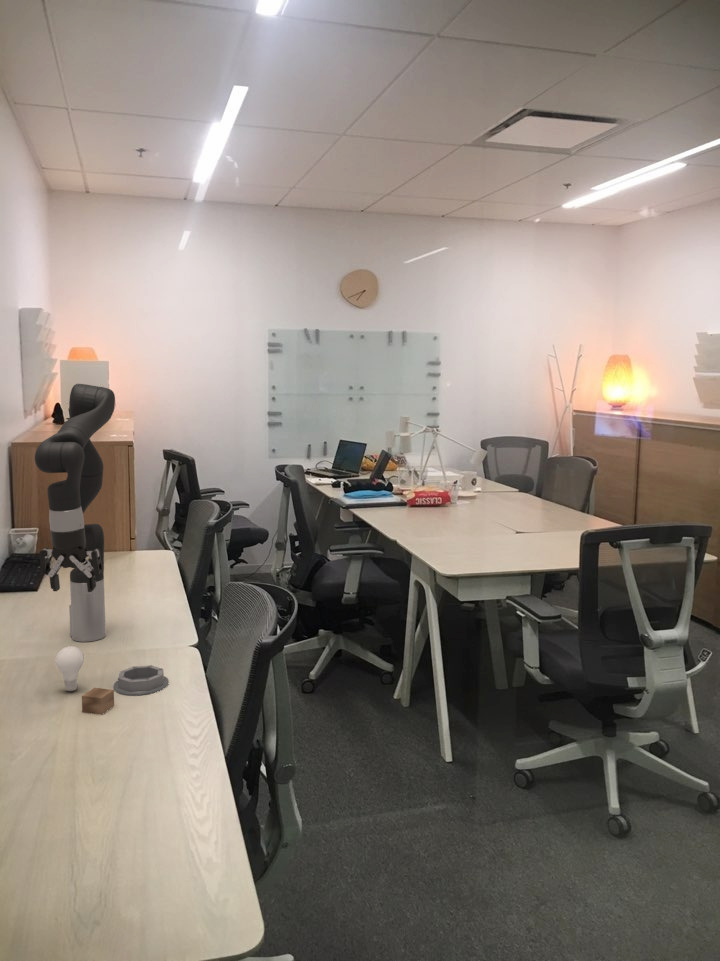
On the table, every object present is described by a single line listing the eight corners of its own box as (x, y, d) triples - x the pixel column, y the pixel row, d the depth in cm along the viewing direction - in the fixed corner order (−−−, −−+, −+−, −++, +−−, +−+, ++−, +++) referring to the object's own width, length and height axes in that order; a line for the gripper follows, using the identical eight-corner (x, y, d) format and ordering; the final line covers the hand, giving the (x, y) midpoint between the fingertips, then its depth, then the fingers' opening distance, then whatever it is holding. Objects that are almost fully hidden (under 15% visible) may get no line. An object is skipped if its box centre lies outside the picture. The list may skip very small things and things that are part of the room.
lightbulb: (90, 687, 187) (89, 644, 186) (72, 697, 181) (71, 652, 180) (69, 684, 189) (67, 641, 188) (50, 694, 183) (49, 649, 182)
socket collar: (102, 687, 187) (101, 675, 187) (144, 671, 198) (143, 660, 198) (138, 700, 180) (138, 687, 180) (179, 682, 191) (179, 670, 190)
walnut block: (82, 712, 173) (81, 695, 173) (95, 704, 178) (94, 687, 177) (102, 715, 172) (101, 698, 171) (114, 706, 177) (113, 689, 176)
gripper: (30, 530, 178) (37, 596, 182) (90, 531, 177) (96, 597, 181) (45, 521, 185) (52, 584, 189) (103, 521, 184) (108, 585, 188)
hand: (74, 590), depth 185 cm, fingers open, 8 cm apart
